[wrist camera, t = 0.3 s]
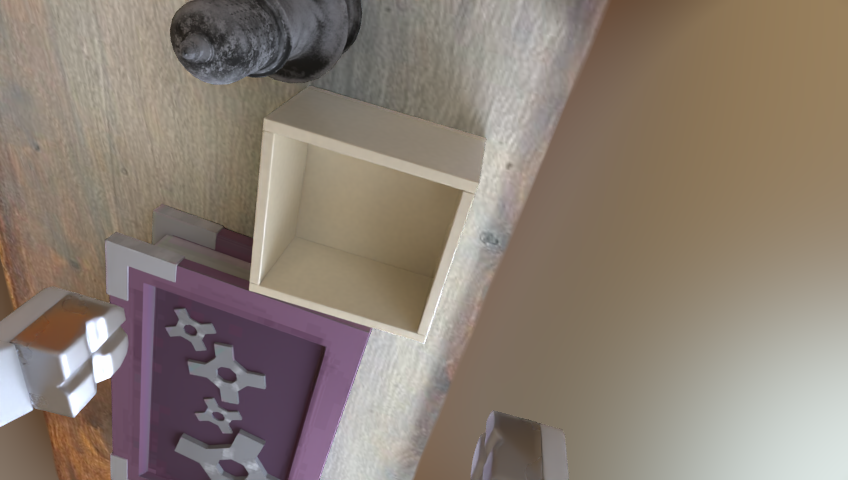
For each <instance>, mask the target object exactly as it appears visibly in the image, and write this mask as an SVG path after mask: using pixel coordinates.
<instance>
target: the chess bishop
mask: <svg viewBox="0 0 848 480" xmlns="http://www.w3.org/2000/svg"><path fill="white" fill-rule="evenodd" d="M361 18H362V8H361V0H193V1H190V2H188V3H186V4H185V5H183V6H182V7H181V8H180V9H179V10H178V11H177V12H176V13H175V15H174V17H173V19H172V22H171V27H170V37H171V43H172V46H173V50H174V52H175V54H176V56H177V58H178V59H179V61H180V62H181V64H182V65H183V66H184V67H185V69H186V70H187V71H188V72H190V73H191V74H192V75H193V76H195V77H196V78H198V79H200V80H202V81H204V82H207V83H210V84H230V83H233V82H236V81H238V80H240V79H242V78H244V77H246V76H249V77H266V76H269V77H271V78H273V79H275V80H279V81H283V82H287V83H305V82H308V81H311V80H314V79H317V78H319V77H321V76H322V75H324V74H325V73H326V72H328V71H329V70H331V69H332V68H333V66H334V65H335V64H336V62H337V61H338V60H339V58H340V57H341V55H342V54H343V53H344V52H346V51H347V50H348V49H349V48H350V46H351V45H352V44H353V42H354V41H355V39H356V37H357V34H358V32H359V29H360V26H361Z"/></svg>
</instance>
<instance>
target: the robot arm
mask: <svg viewBox="0 0 848 480" xmlns="http://www.w3.org/2000/svg"><path fill="white" fill-rule="evenodd" d="M125 320H126V318H125V312H124V308H122V307H119V306H117V305H114V304H110V303H107V302H104V301H101V300H97V299H94V298H91V297H88V296H85V295H81V294H78V293H74V292H71V291H67V290H64V289H61V288H57V287H54V286H52V287H49V288H45V289H43V290H41V291H40V292H39V293H37V294H36V295H35V296H33V297H32V298H31V299H29V300H28V301H27V302H25V303H24V304H23V305H21V306H20V307H19V308H17V309H16V310H15V311H13V312H12V313H11V314H10V315H8V316H7V317H6V318H4V319H3V320H2V321H1V322H0V427H1V426H3V425H5V424H7V423H9V422H11V421H13V420H15V419H16V418H19V417H20V416H22V415H24V414H26V413H28V412H30V411H32V410H33V408H36V409H40V410H44V411H48V412H52V413H56V414H60V415H64V416H68V417H72V418H74V417H75V416H76V415H77V414H78V413H79V412H80V411H81V410H82V408H83V407H84V406H85V405H86V404H87V403H88V402H89V401H90V400H91V399H92V398H93V396H94V395H95V394H96V393H97V383H98V382H101V381H103V380H105V379H108V378H110V377H112V376H113V374H114V373H115V372H116V371H117V370H118V369H119V368H120V366H121V364H122V362H123V360H124V358H125V356H126V354H127V350H128V344H129V343H128V335H127V334H126V333H125V331H124V330H123V329H122V328H121V326H120V325H121V324H122V323H123V322H124V321H125ZM471 480H569V474H568V463H567V453H566V443H565V434H564V432H563V430H562V429H559V428H555V427H552V426H548V425H545V424H541V423H537V422H534V421H531V420H527V419H523V418H519V417H516V416H512V415H509V414H505V413H501V412H497V411H494V410H493V411H492V412H491V413H490V415H489V417H488V419H487V424H486V432H485V433H483V434H481V435H480V438H479V440H478V443H477V446H476V450H475V453H474V457H473V462H472V469H471Z"/></svg>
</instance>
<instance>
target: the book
mask: <svg viewBox="0 0 848 480" xmlns="http://www.w3.org/2000/svg"><path fill="white" fill-rule="evenodd" d="M252 246H253V238H250V237H247V236H244V235H241V234H239V233H236V232H233V231H230V230H227V229H224V226H222V225H219V224H216V223H213V222H211V221H208V220H205V219H202V218H199V217H197V216H194V215H191V214H188V213H185V212H182V211H180V210H177V209H174V208H171V207H168V206H165V205H163V204H161V205H160V206H159V207H157V208H156V209H155V210H153V226H152V244H149V243H146V242H144V241H141V240H138V239H135V238H132V237H129V236H127V235H124V234H121V233H118V232H115V233H114V234H112V235H111V236H110V237H108V238H107V239H106V240H105V258H106V294H109V295H110V304H114V305H117V306H119V307H122V308H124V312H125V318H126V320H125V321H124V322H123V323H122V324H121V325H120V326H121V328H122V329H123V330H124V331H125V333H126V334H127V335H128V343H129V344H128V350H127V354H126V356H125V358H124V360H123V362H122V364H121V366H120V368H119V369H118V370H117V371H116V372H115V373H114V374H113V376H112V377H111V390H112V439H113V452H112V453H111V455H110V459H111V480H320V477H321V474H322V471H323V468H324V465H325V462H326V460H327V457H328V454H329V451H330V448H331V445H332V442H333V439H334V437H335V434H336V431H337V428H338V425H339V422H340V419H341V417H342V414H343V411H344V408H345V405H346V402H347V399H348V396H349V394H350V391H351V388H352V385H353V382H354V379H355V376H356V373H357V371H358V368H359V365H360V362H361V359H362V356H363V353H364V350H365V348H366V345H367V342H368V339H369V336H370V333H371V330H372V328H371V327H368V326H364V325H361V324H358V323H354V322H351V321H348V320H345V319H341V318H338V317H335V316H331V315H328V314H325V313H321V312H318V311H315V310H312V309H308V308H305V307H302V306H298V305H295V304H292V303H288V302H285V301H282V300H278V299H275V298H272V297H269V296H265V295H262V294H259V293H255V292H252V291H249V282H250V281H249V280H250V269H251V258H252Z"/></svg>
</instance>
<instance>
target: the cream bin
mask: <svg viewBox="0 0 848 480" xmlns="http://www.w3.org/2000/svg"><path fill="white" fill-rule="evenodd" d="M485 145H486V138H484V137H480V136H477V135H474V134H470V133H467V132H464V131H460V130H457V129H454V128H450V127H447V126H444V125H440V124H437V123H434V122H430V121H427V120H424V119H420V118H417V117H414V116H410V115H407V114H404V113H400V112H397V111H394V110H391V109H387V108H384V107H381V106H377V105H374V104H371V103H367V102H364V101H361V100H357V99H354V98H351V97H347V96H344V95H341V94H337V93H334V92H331V91H327V90H324V89H321V88H317V87H314V86H311V85H310V86H308V87H307V88H305V89H304V90H302V91H301V92H300V93H298V94H297V95H295V96H294V97H293V98H291V99H290V100H288V101H287V102H286V103H284V104H283V105H281V106H280V107H279V108H277V109H276V110H274V111H273V112H272V113H270V114H269V115H267V116H266V117H265V118H264V120H263V133H262V144H261V155H260V167H259V178H258V189H257V201H256V212H255V224H254V235H253V246H252V258H251V269H250V280H249V281H250V282H249V291H252V292H255V293H259V294H262V295H265V296H269V297H272V298H275V299H278V300H282V301H285V302H288V303H292V304H295V305H298V306H302V307H305V308H308V309H312V310H315V311H318V312H321V313H325V314H328V315H331V316H335V317H338V318H341V319H345V320H348V321H351V322H354V323H358V324H361V325H364V326H368V327H371V328H374V329H378V330H381V331H384V332H387V333H391V334H394V335H397V336H401V337H404V338H407V339H411V340H414V341H417V342H421V343H425V341H426V338H427V335H428V332H429V329H430V326H431V323H432V320H433V317H434V314H435V312H436V309H437V306H438V303H439V300H440V297H441V294H442V291H443V288H444V285H445V282H446V279H447V276H448V274H449V271H450V268H451V265H452V262H453V259H454V256H455V253H456V250H457V247H458V244H459V241H460V238H461V236H462V233H463V230H464V227H465V224H466V221H467V218H468V215H469V212H470V209H471V206H472V203H473V200H474V198H475V194H476V192H477V189H478V186H479V182H480V176H481V170H482V164H483V157H484V151H485Z"/></svg>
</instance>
